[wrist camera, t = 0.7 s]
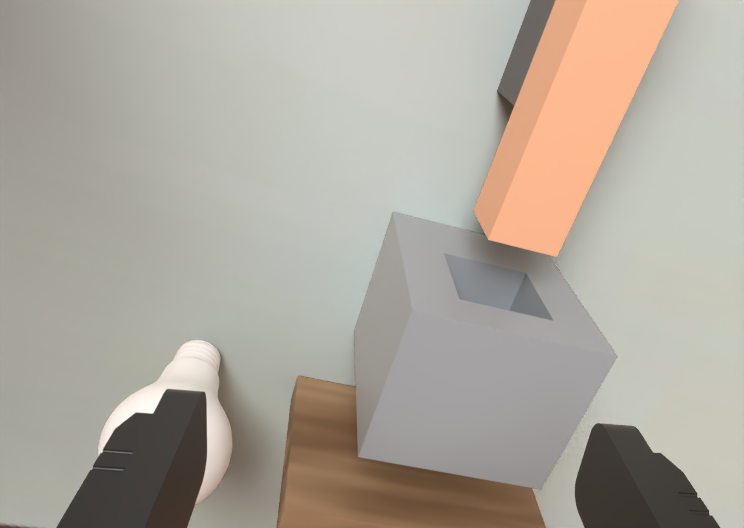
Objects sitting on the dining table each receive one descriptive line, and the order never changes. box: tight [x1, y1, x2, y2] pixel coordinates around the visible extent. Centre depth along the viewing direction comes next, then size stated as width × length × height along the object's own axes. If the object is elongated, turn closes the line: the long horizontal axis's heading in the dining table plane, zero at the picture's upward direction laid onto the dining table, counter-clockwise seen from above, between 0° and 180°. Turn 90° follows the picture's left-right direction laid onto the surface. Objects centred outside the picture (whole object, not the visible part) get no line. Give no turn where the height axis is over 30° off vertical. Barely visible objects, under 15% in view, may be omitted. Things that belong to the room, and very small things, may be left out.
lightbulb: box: [98, 340, 233, 505], centre depth 31 cm, size 6×6×11 cm
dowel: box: [474, 0, 679, 257], centre depth 23 cm, size 16×3×3 cm, turn 164°
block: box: [354, 212, 618, 489], centre depth 30 cm, size 8×9×10 cm
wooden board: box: [277, 376, 546, 528], centre depth 34 cm, size 2×14×10 cm, turn 74°
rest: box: [497, 0, 556, 106], centre depth 27 cm, size 6×3×4 cm, turn 164°
